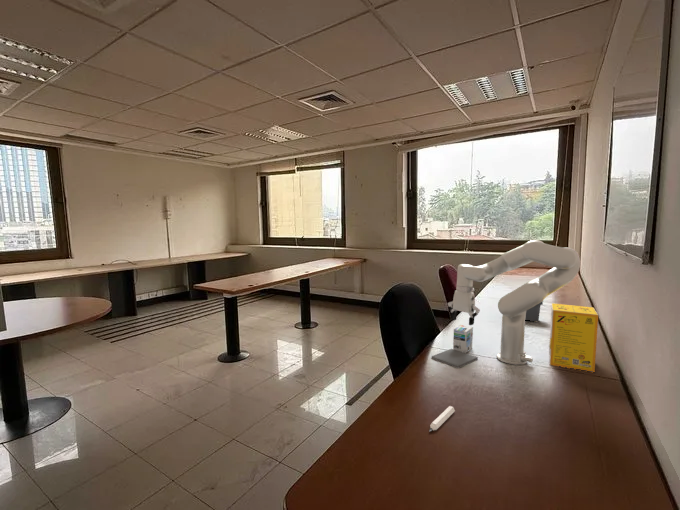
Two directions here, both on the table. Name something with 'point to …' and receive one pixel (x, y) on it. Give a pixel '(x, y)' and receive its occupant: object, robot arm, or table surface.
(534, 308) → the storage bin
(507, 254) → the robot arm
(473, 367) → the table surface
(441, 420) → the marker
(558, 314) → the packaging box
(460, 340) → the light bulb box
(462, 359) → the mat
